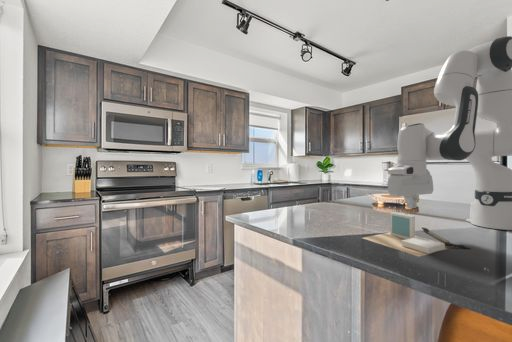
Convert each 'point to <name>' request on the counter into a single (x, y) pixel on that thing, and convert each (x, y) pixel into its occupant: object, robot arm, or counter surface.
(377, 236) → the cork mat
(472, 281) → the counter surface
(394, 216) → the tile far
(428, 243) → the tile near
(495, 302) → the counter surface
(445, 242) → the tomahawk
